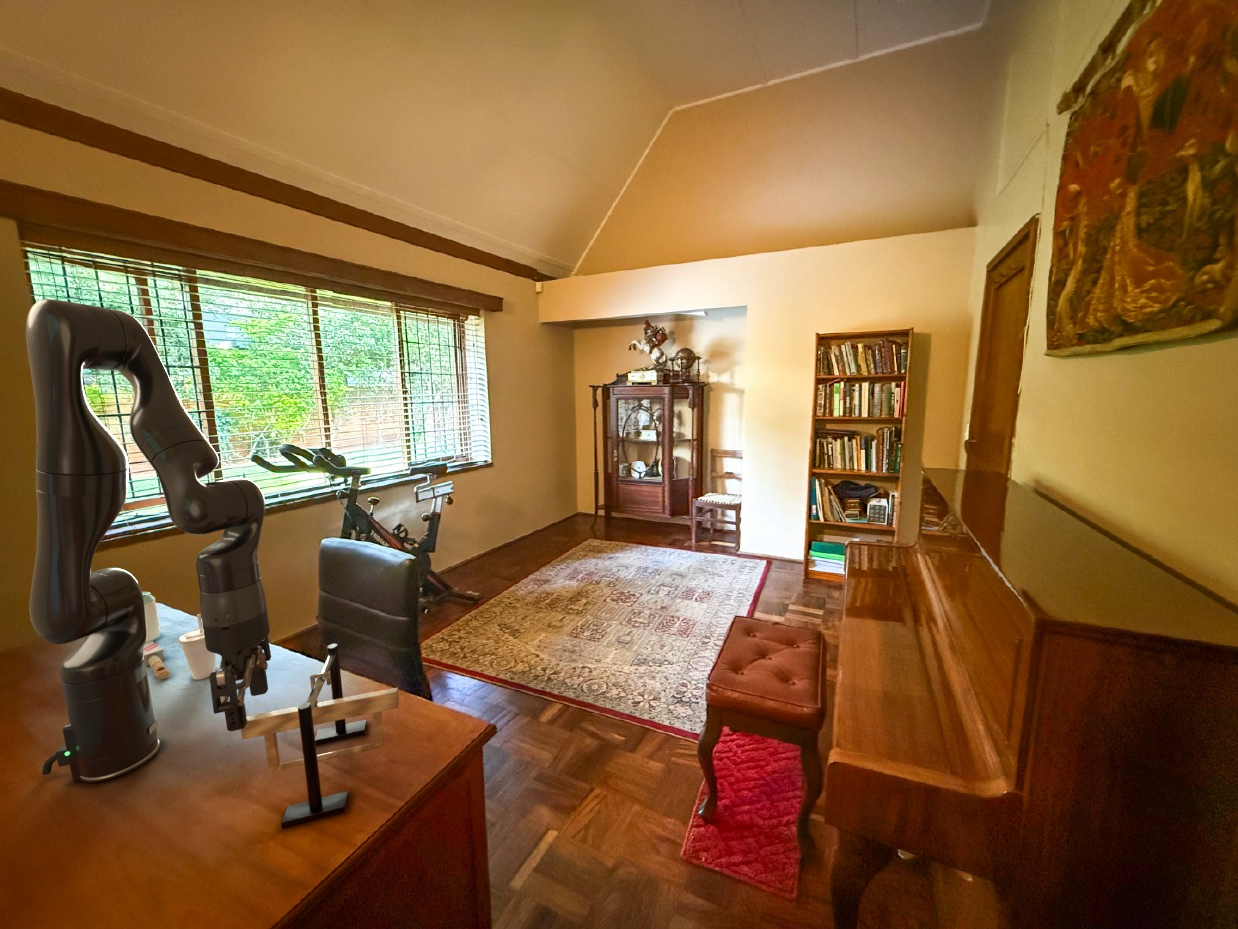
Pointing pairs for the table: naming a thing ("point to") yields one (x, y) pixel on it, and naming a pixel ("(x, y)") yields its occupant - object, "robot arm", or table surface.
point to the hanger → (321, 714)
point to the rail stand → (341, 730)
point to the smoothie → (198, 652)
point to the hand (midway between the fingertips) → (249, 710)
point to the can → (151, 617)
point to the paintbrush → (155, 659)
